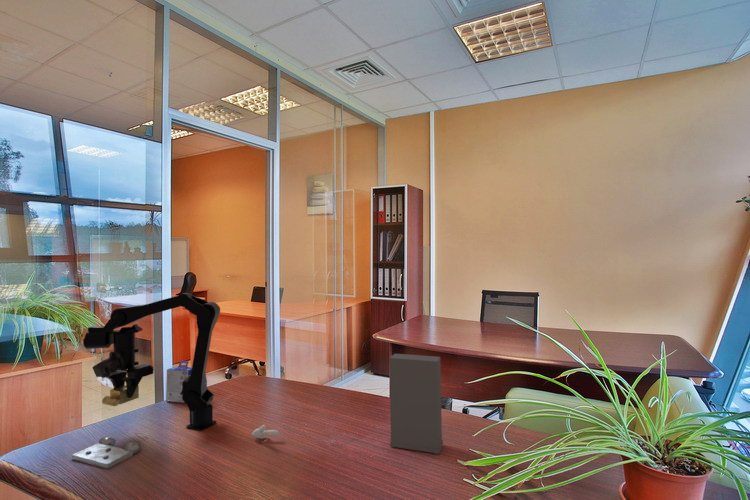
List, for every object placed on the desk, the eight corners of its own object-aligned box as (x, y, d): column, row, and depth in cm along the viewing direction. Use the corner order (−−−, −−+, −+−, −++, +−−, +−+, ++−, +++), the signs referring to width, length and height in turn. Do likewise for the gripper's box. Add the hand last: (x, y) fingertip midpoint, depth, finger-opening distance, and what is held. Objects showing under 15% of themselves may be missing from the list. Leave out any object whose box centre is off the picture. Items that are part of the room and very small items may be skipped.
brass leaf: (138, 397, 121) (138, 384, 121) (112, 407, 113) (112, 393, 113) (128, 396, 123) (128, 382, 123) (102, 405, 115) (102, 391, 115)
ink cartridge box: (198, 398, 147) (198, 360, 148) (188, 403, 142) (188, 364, 142) (175, 396, 149) (175, 359, 150) (165, 401, 144) (165, 363, 144)
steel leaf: (141, 451, 106) (141, 442, 106) (107, 468, 97) (107, 459, 98) (107, 443, 111) (107, 435, 111) (71, 459, 102) (71, 450, 103)
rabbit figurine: (263, 433, 116) (280, 426, 113) (261, 447, 114) (278, 440, 110) (247, 428, 113) (264, 420, 110) (244, 442, 110) (262, 434, 107)
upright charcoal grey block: (443, 444, 108) (441, 356, 109) (439, 454, 102) (437, 361, 103) (396, 437, 112) (395, 352, 113) (390, 447, 107) (389, 358, 107)
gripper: (77, 350, 115) (77, 402, 115) (119, 355, 109) (119, 410, 108) (114, 343, 126) (114, 390, 125) (154, 346, 119) (154, 396, 119)
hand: (124, 396), depth 119 cm, fingers closed on brass leaf, 4 cm apart
